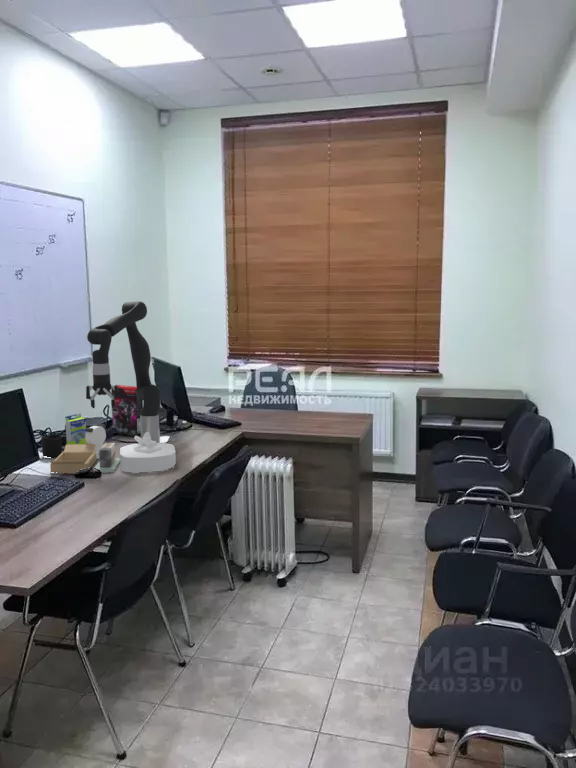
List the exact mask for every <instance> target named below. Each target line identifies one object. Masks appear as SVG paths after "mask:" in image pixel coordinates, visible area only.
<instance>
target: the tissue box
mask: <svg viewBox="0 0 576 768" xmlns="http://www.w3.org/2000/svg"><path fill="white" fill-rule="evenodd" d="M133 437H134V440H135V441H136V442H137V443H132V444H131V443H130V444H128V445H125V446H121V447H120V448H119V458H120V463H119V467H120V468H121V469H120V471H122V472H124V473H127V472H132V473H131V474H140V473H139V472H148V473H151V472H150V471H158V470H164V469H168V468H171V467H173V466H174V465H175V464H176V465H177V463H176V462H177V461H176V460H177V458H176V457H177V456H176V453H177V451H176V449H175V446H174V445H173V444H171V443H166V442H160V443H157V442H156V441H152V440H151V435H150V433H148V432H146V433H145V434H144V436H143V440H142V439H141V436H133Z"/></svg>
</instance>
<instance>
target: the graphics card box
mask: <svg viewBox="0 0 576 768" xmlns="http://www.w3.org/2000/svg"><path fill="white" fill-rule="evenodd" d="M117 385H118V392H119V397H118V398H116V399H115V406H114V407H113V408H112V407H111V412H112V413H111V416H112V418H111V419H112V427H113V426H114V427H116V429H117V434H116V435H121V436H130V437H135V436H138V437H141V424H140V410H141V409H142V408H143V400H141V399H140V398H139V396H138V394H137V386H135V385H134V386H133V385H122V384H117ZM110 391H111V393H112V394H113V395H114V396H115V390H113V388H111V390H110Z"/></svg>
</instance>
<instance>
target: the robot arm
mask: <svg viewBox="0 0 576 768" xmlns="http://www.w3.org/2000/svg"><path fill="white" fill-rule="evenodd" d="M147 314H148V307H147V305H146V304H145V302H144V301H143V302H142V301H139V300H137V301H128V302H127V301H126V302H123V304H122V306H121V314H120V315H117V316H114V317H112V318H110V319H109V320H108V321H106V322H105V323H102V324H100V325H98V326H95V327H93V328H91V329H90V330H89V331H88V333H87V337H86V338H87V341H88V343H90V344H91V345H98V346H99V349H95V350H93V351H92V371H91V372H92V378H93V379H92V382H93V385H89V384H88V385H86V387H85V392H86V393H85V398H86V399H87V400H90V407H91V408H92V409H95V407H96V403H95V402H96V401H95V400H96V399H95V398H96V397H97V395H98V396H106V395H107V396H108V397H109V398H110V399H111V400H110V403H111V409H112V408H113V407H114V406H115V399H116V398H118V397H119V392H118V385H119V384H115V385H114V384H113V385H112V384H111V369H110V361H109V360H110V359H109V353H110V348H111V343H112V337H115V336H116V335H117V334H119V333H120V332H121V331H123V330H124V329H126V332H127V338H128V343H129V349H130V356H131V358H132V359H131V360H132V362H133V364H132V365H133V369H134V374H135V384H136V387H137V394H138V396H139V398H140V399H141V400H143V408H142V409H141V410H140V424H141V435H140V438H141V439H142V440H143V436H144V434H145V433H146V432H148V433H150V435H151V440H152V441H156V442H157V443H161V437H160V435H161V433H160V431H161V430H160V421H159V419H160V418H159V414H160V413H159V412H160V409H161V392H160V391H161V390H160V388H159V387H158V386H157V385H155V384H153V383H152V382H151V377H150V366H151V361H152V360H151V359H152V358H151V357H152V356H151V350H150V345H149V343H148V341H147V340H146V339H145V337H144V336H143V334H142V333H141V332H140V330H139V329H138V326H137V323H136V322H139V321H141V320H144V319H145V318H146V316H147ZM111 388H113V390H115V396H114V395H113V394H112V392H111ZM92 390H93V391H94V393H92V395H91V391H92Z"/></svg>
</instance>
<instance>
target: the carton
mask: <svg viewBox="0 0 576 768" xmlns="http://www.w3.org/2000/svg"><path fill="white" fill-rule="evenodd" d="M95 447H96V444H74V445H67V444H65V447H64V450H63V451H62V453H61V454H60V455H59V456H58V457H57V458H54V460H49V461H48V462H49V463H50V466H49V467H50V473H51V472H54V473H56V472H57V473H67V474H75V473H74V472H77V471H79V470H80V469H84V468H88V467H91V468H92V467H93V466H94V464H95V463H96V462H97V459H96V453H95V452H94V451H95Z"/></svg>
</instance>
